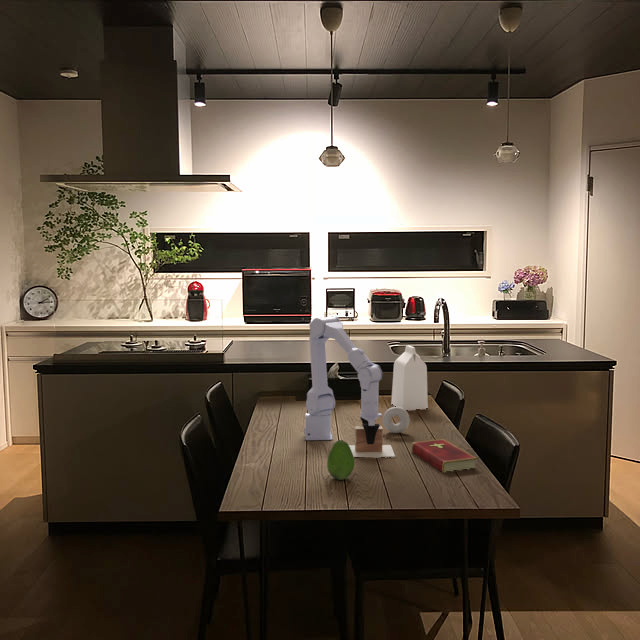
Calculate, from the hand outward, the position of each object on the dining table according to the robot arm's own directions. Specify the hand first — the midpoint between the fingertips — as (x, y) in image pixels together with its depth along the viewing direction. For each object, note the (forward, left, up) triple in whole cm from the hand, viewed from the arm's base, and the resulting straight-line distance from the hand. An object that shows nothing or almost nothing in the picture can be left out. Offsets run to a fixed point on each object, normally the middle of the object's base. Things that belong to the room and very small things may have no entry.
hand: (369, 440), depth 227 cm
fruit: (-11, -25, -4) cm, 28 cm away
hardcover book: (+23, -9, -5) cm, 25 cm away
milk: (+23, +61, -4) cm, 65 cm away
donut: (+12, +22, -4) cm, 25 cm away
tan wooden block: (0, 0, -3) cm, 3 cm away
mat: (0, 0, -4) cm, 4 cm away
